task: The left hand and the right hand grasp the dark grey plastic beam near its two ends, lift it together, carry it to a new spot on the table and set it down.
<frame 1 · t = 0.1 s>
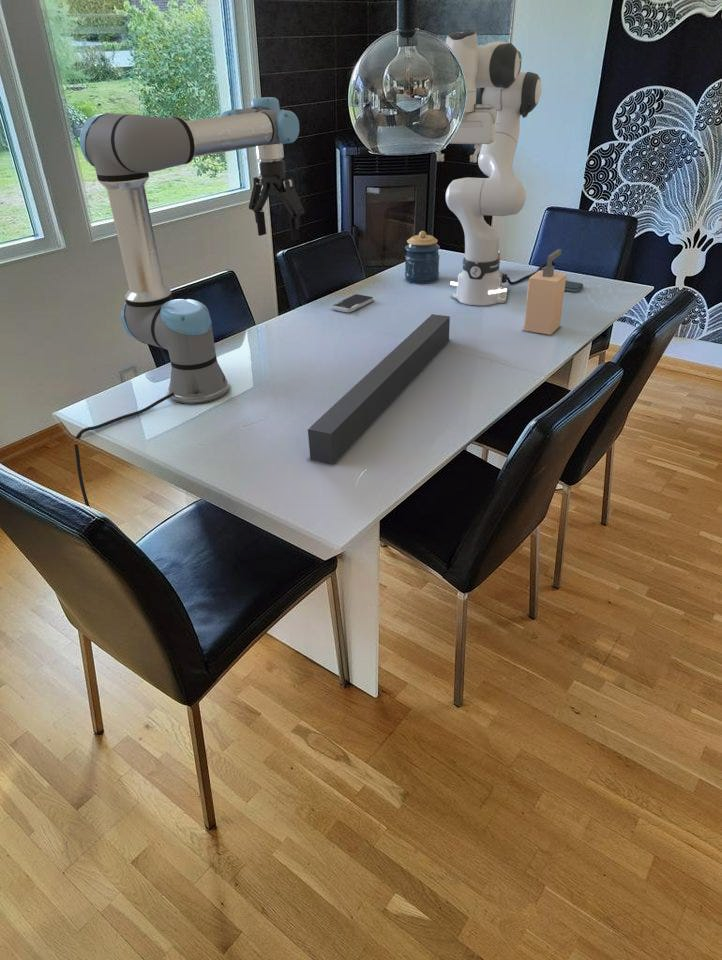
left hand: (278, 237, 202), 28 cm above the table, tool pointing down, fingers open, 13 cm apart
right hand: (456, 161, 184), 48 cm above the table, tool pointing down, fingers open, 8 cm apart
canister: (421, 279, 256), on the table
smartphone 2: (559, 287, 242), on the table
smartphone: (352, 305, 233), on the table
beam: (390, 390, 174), on the table
mug: (490, 272, 260), on the table
soap dispenser: (544, 326, 209), on the table
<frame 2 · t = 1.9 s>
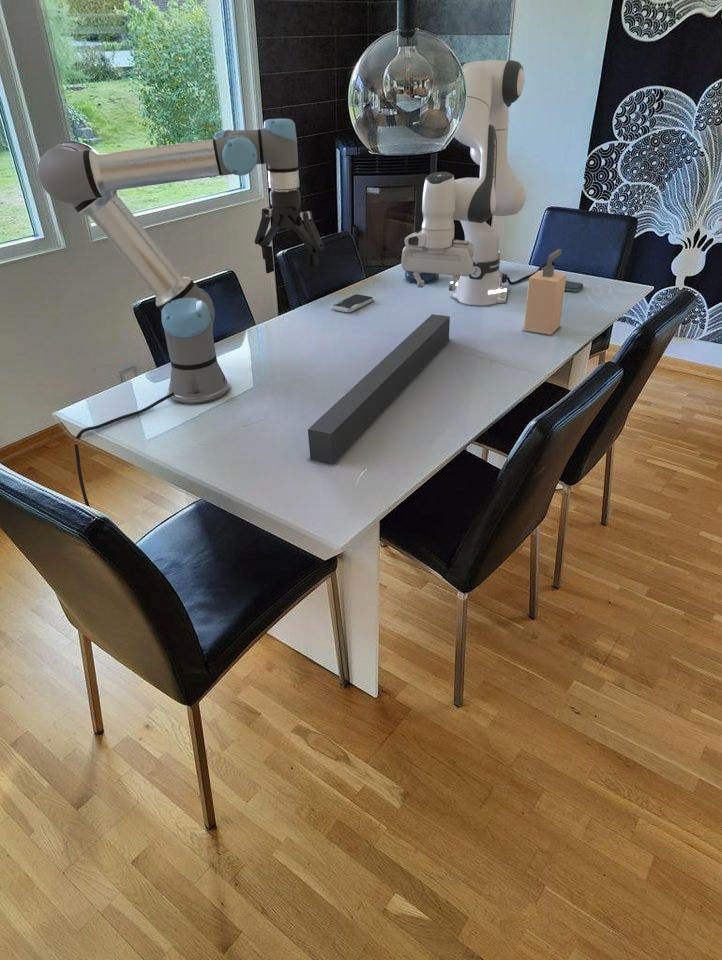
left hand: (291, 275, 178), 25 cm above the table, tool pointing down, fingers open, 13 cm apart
right hand: (436, 288, 190), 17 cm above the table, tool pointing down, fingers open, 8 cm apart
nothing on the table moved.
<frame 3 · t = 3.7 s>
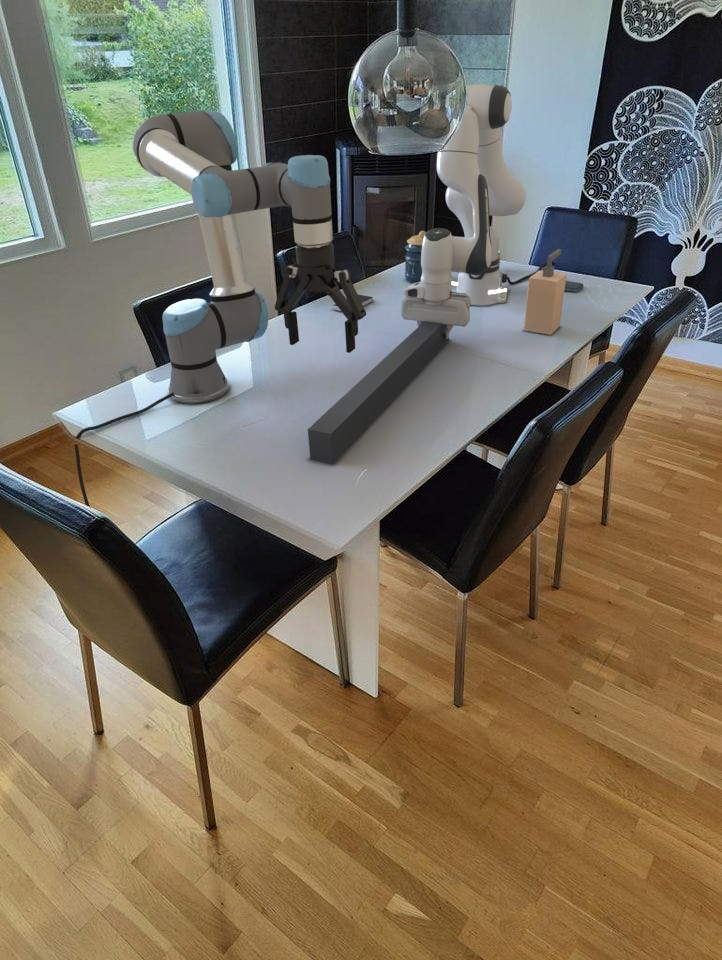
left hand: (322, 346, 142), 22 cm above the table, tool pointing down, fingers open, 13 cm apart
right hand: (434, 336, 198), 3 cm above the table, tool pointing down, fingers closed on beam, 5 cm apart
beam: (390, 390, 174), on the table, touching right hand
everything else where it was.
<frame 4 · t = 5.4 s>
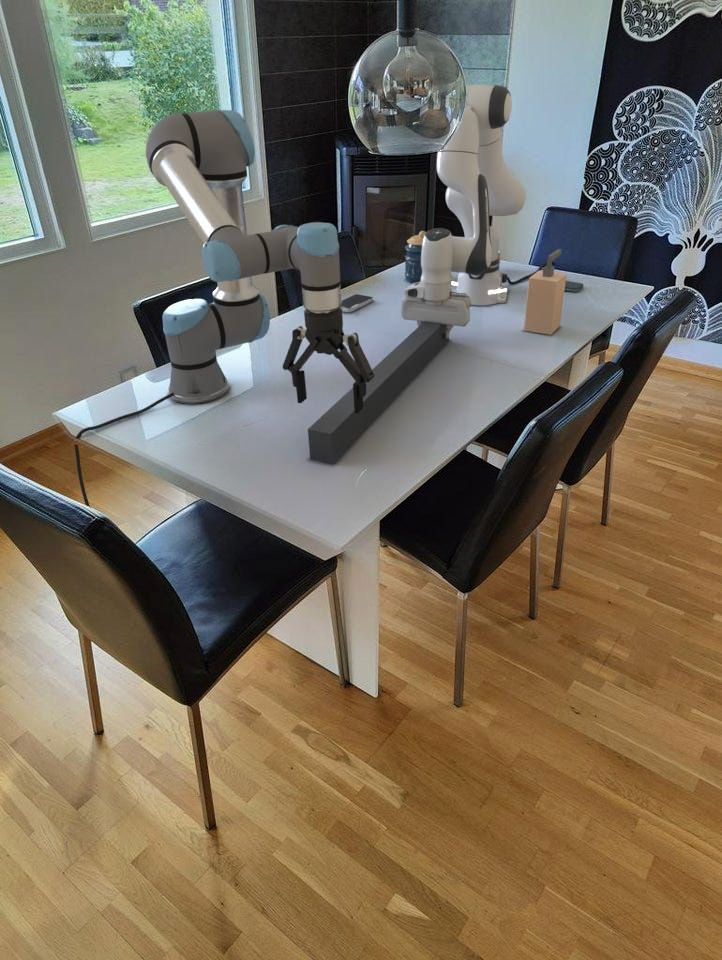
left hand: (330, 405, 143), 11 cm above the table, tool pointing down, fingers open, 13 cm apart
right hand: (434, 336, 198), 3 cm above the table, tool pointing down, fingers closed on beam, 5 cm apart
beam: (390, 390, 174), on the table, touching right hand
everything else where it was.
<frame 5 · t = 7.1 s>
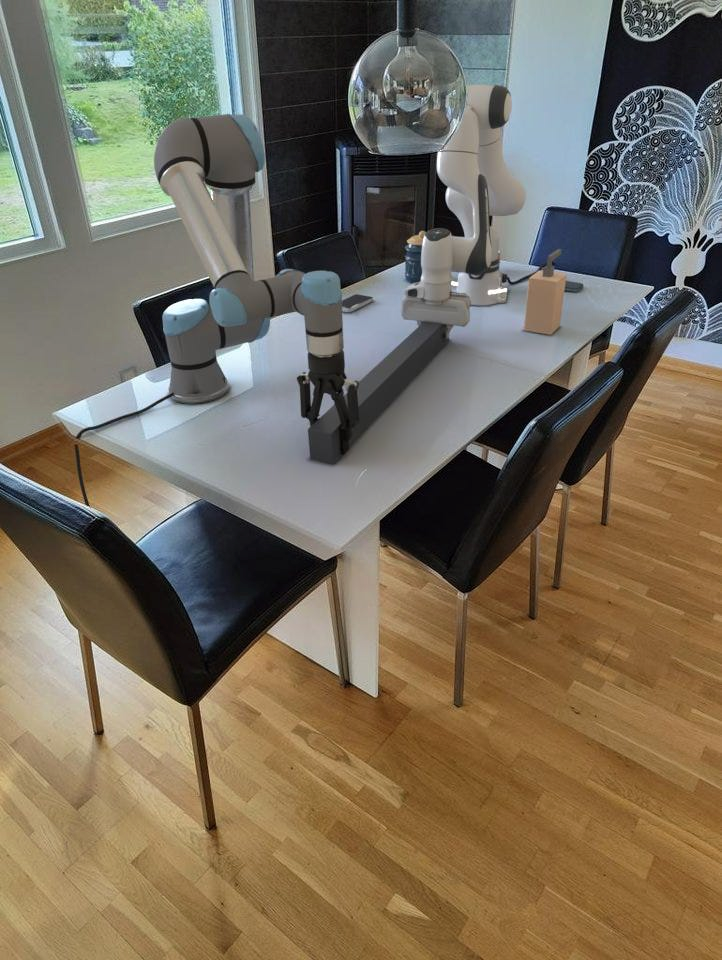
left hand: (332, 448, 149), 1 cm above the table, tool pointing down, fingers closed on beam, 6 cm apart
right hand: (434, 336, 198), 3 cm above the table, tool pointing down, fingers closed on beam, 5 cm apart
beam: (390, 390, 174), on the table, touching left hand, right hand
everything else where it was.
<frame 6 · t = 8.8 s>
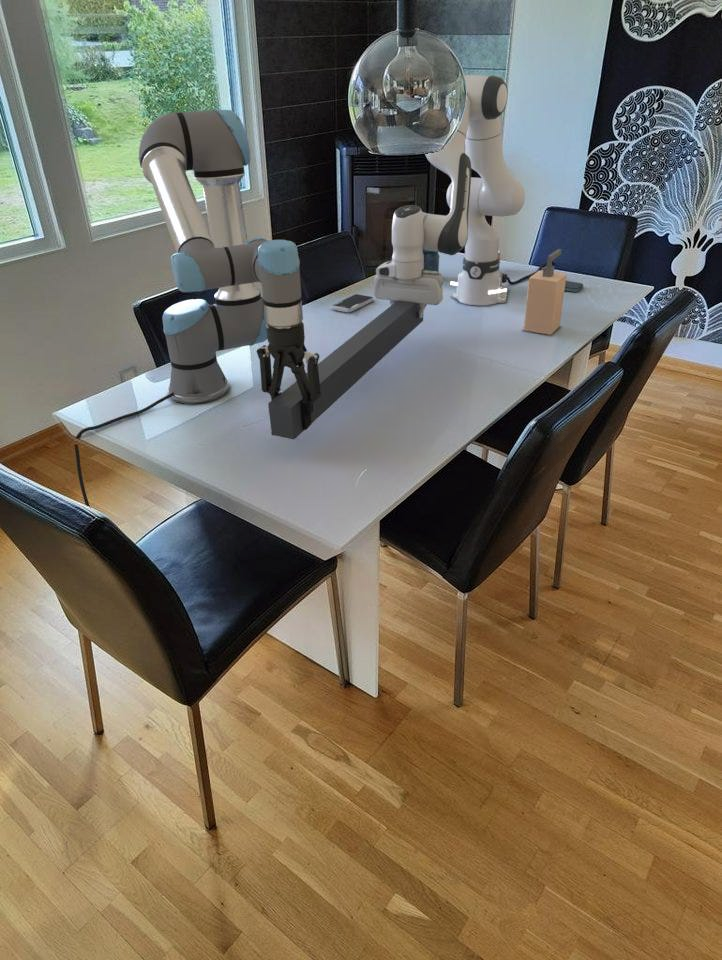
left hand: (294, 424, 147), 6 cm above the table, tool pointing down, fingers closed on beam, 6 cm apart
right hand: (408, 316, 196), 9 cm above the table, tool pointing down, fingers closed on beam, 5 cm apart
beam: (359, 368, 172), point 6 cm above the table, touching left hand, right hand
everything else where it was.
when the left hand's fingers open (2 cm above the table, at t = 10.9 s): beam drops 1 cm, held by the right hand.
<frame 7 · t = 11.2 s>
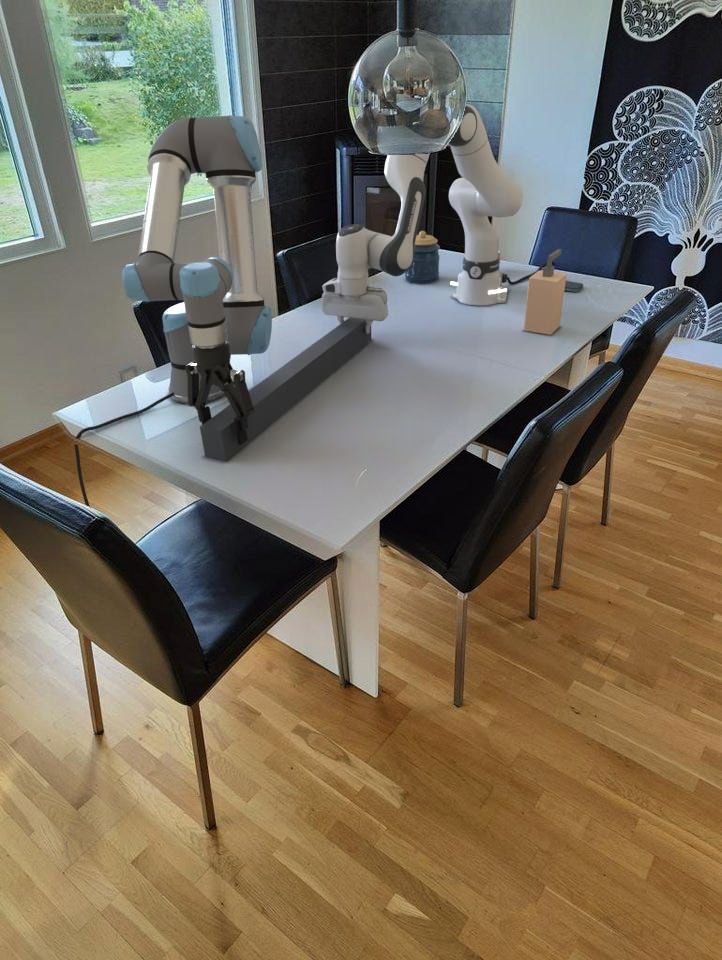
left hand: (225, 438, 150), 3 cm above the table, tool pointing down, fingers open, 8 cm apart
right hand: (355, 331, 200), 4 cm above the table, tool pointing down, fingers closed on beam, 6 cm apart
beam: (301, 389, 177), on the table, touching right hand
everything else where it was.
when the right hand's fingers open (4 cm above the table, at t = 11.2 s): beam stays where it is, on the table.
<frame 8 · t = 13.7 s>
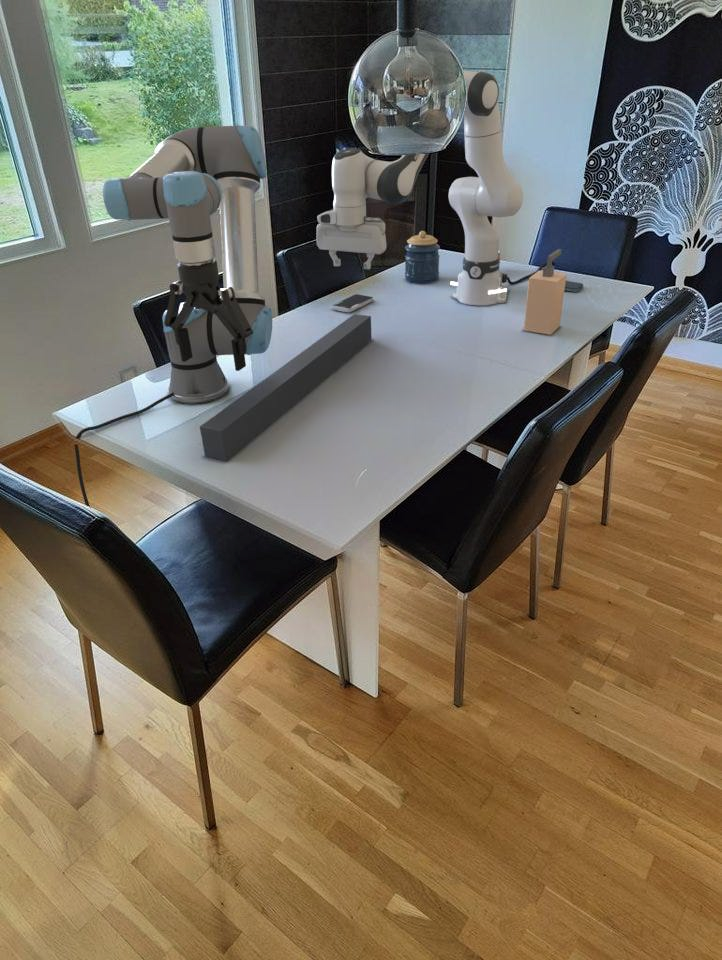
left hand: (213, 363, 140), 21 cm above the table, tool pointing down, fingers open, 13 cm apart
right hand: (352, 267, 189), 23 cm above the table, tool pointing down, fingers open, 8 cm apart
beam: (301, 389, 177), on the table
everything else where it was.
at the end: beam inside the target area (0.3 cm from its centre), on the table; beam tilted 0°; beam never tilted more than 1° during the clip; both hands held the beam at the same time; the left hand is holding nothing; the right hand is holding nothing; beam at rest at the end (0.0 cm/s) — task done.
